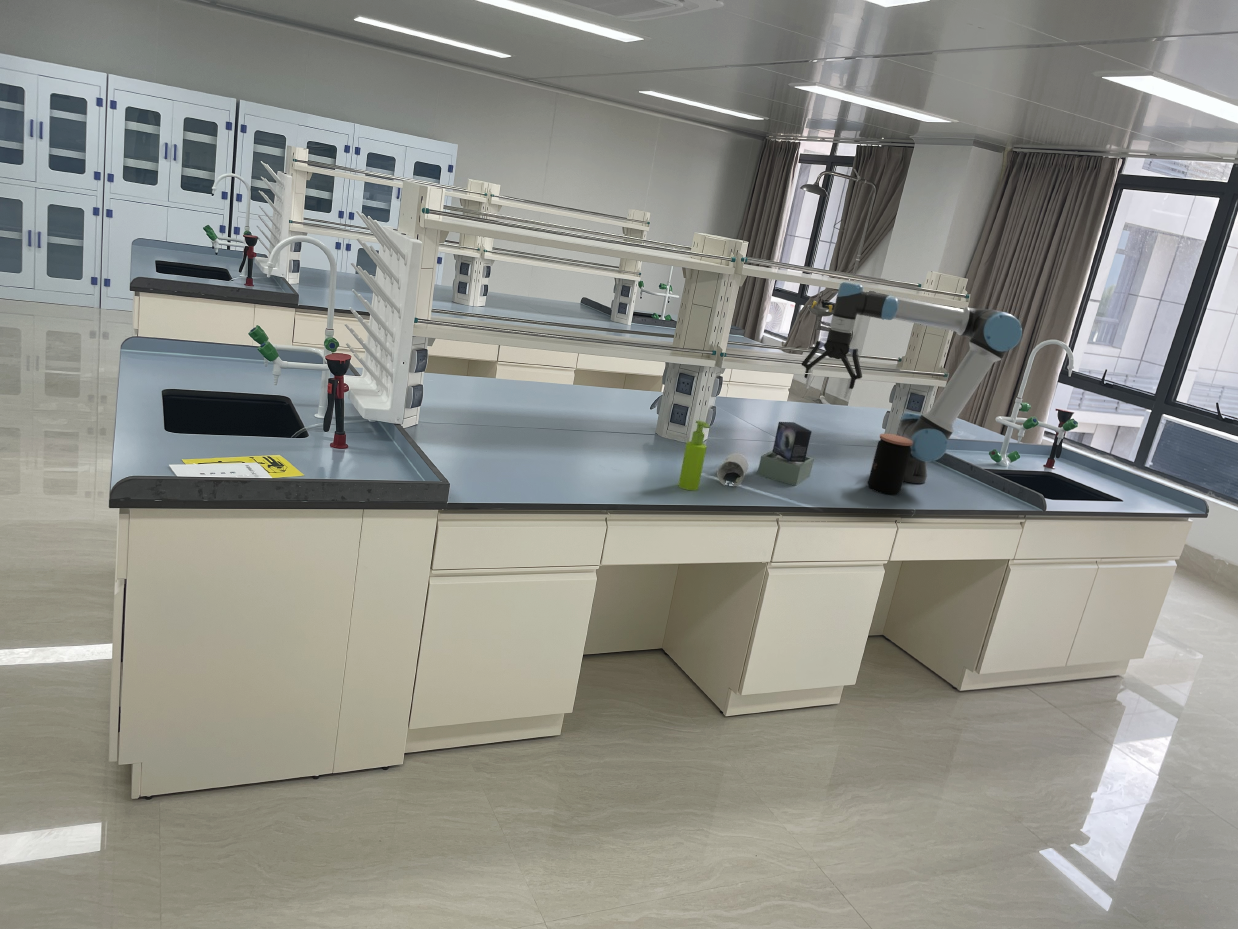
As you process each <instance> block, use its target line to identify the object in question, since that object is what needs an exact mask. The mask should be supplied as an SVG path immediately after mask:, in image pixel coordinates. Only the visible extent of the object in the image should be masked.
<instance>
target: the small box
mask: <svg viewBox="0 0 1238 929" xmlns="http://www.w3.org/2000/svg"><path fill="white" fill-rule="evenodd" d="M811 436H812V430H810V429H808V428H806V427H804V426H802V425H800V424H798V423H796V422H794V421H792V422H791V421H778V423H777V428H776V433H775V438H774V443H773V447H772V450H773V451H772V450H771V451H772V452H774V453H776V454H777V455H779V456H781V457H783V458H784V459H786V460H788V461H789V462H805V459H806V456H807V454H808V450H809V444H810V439H811Z"/></svg>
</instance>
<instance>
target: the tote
mask: <svg viewBox="0 0 1238 929" xmlns="http://www.w3.org/2000/svg"><path fill="white" fill-rule="evenodd" d="M772 451H773V449H772V450H770V451H768V452H766V453H765V454H761V456H760V460H759V464H758V470H757V474H756V475H757V476H760V477H763V478H766V479H771V480H775V481H778V482H781V483H785V484H788V485H792V486H795V487H797V486H798V485H799V484H801V483H803V482H804V481H806V480H807V479H809V478H810V476H811V473H812V469H813V465H814V462H815V458H814V457H810V456H807V455H806V459H805V462H803V463H802V464H800V465H794V464H791V463H787V462H784V461H780V460H776V459H773V457H775V456H777V454H776V453H774V452H772Z"/></svg>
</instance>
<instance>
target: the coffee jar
mask: <svg viewBox="0 0 1238 929" xmlns="http://www.w3.org/2000/svg"><path fill="white" fill-rule="evenodd" d="M879 439H880V440H878V442H877V445H876V449H875V454H874V457H873V460H872V465H871V469H870V474H869V476H868V480H867V485H868V489H870V490H871V489H872V490H871V491H874V492H876V493H879V494H883V495H888V496H896V495H898V494H899V493H900V492H902V491H901V490H902V486H903V482H904V481H903V479H904V476H905V472H906V468H907V464H908V461H909V457H910V453H911V445H913V441H912V440H910V439H908V438H905V437H901V436H898V435H897V434H894V433H893V434H892V433H891V434H890V433H880V434H879Z"/></svg>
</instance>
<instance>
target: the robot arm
mask: <svg viewBox="0 0 1238 929" xmlns="http://www.w3.org/2000/svg"><path fill="white" fill-rule="evenodd" d="M837 291H838V292H837V294H836V297H835V298H836V299H835V302H834V308H833V313H832V316H831V321H830V325H829V327H830V329H829V330H828V332H827V338H826V340H825V341H826V342H823V341H822V340H817V341H816V342H815V345H814V347H813V348H812V350H810V352H809V353H808V355H806V357H805V359H803V361H802V362H801V366H803V367H804V368H805V371H804V372H805V373H812V374H805V373H804V379H805V380H806V381H805V385H804V389H806V390H808V389H810V385H811V381H812V376H813V371H814V369H813V367H814V366H816V365H817V364H818V363H820V362H821V361H823V359H825V358H826V357H828V358H831V359H835V360H841V361H842V363H843V364H844V367H845V369H846V370H847V373H848V375H849V377H850V378H848V379H847V383H846V384H847V385H846V388H845V391H844V392H845V393H844V396H843V398H844V399H848V398H849V395H850V391H851V390H853V389H854V388H855V384H856V380H860V379H862V378H863V373H862V369H861V365H860V361H859V356H858V355H859V349H858V348H850V344H851V339H852V336H853V334H852V332H853V331H854V327H855V325H856V324H855V323H856V318H857V315H858V316H865V317H868V318H874V319H881V320H883V321H884V320H887V321H891V320H897V321H902V322H908V323H910V324H917V325H922V326H927V327H932V328H937V329H941V330H945V331H951V332H956V334H957V335H958V336H962V337H966V338H968V339H969V341H968V346H969V349H968V351H967V352H966V355H965V356H964V357H963V359H962V361H961V362H960V363H959V365H958V367H957V368H956V370H955V371H954V373H953V375H952V376H951V378H949V381H948V382H947V383H946V385H945V387H944V388H943V390H942V391H941V393H940V394H939V396H938V397H937V399H936V400H935V402H934V404H933V405H932V406H931V408H930V409H929V411H928V412H924V413H922V414H919V413H914V412H907V411H906V412H904V413H903V414H902V415H901V419H900V421H899V426H898V430H897V434H896V435H898V436H901V437H905V438H908V439H910V440H912V441H913V445H911V453H910V457H909V461H908V464H907V468H906V472H905V476H904V479H903V482H906V483H911V484H925V483H926V481H927V479H928V478H927V477H928V473H927V472H928V470H927V463H929V462H934V461H935V462H936V461H937V460H939V459H940V458H942V457H943V456H944V455H945V453H946V452H947V450H948V441H949V439H950V438H951V436H952V434H953V433H954V429H953V425H954V423H955V421H956V420H957V419H958V417H959V415H960V414H961V412H962V411H963V409H964V408H965V407H966V405H967V403H968V402H969V400H970V399H971V397H972V396H973V394H974V393H975V392H976V390H977V388H978V387H979V385H980V384H981V382H982V380H984V378H985V376H986V374H987V373H988V372H989V371H990V368H991V367H992V366H993V364H994V363H996V362H998V361H1001V360H1002V359H1003V358H1004V357H1005V355H1006V353H1008V352H1009V351H1010V350H1012V349H1014V348H1015V347H1016V346H1017V345H1018V344H1019V343H1020V341H1021V339H1022V336H1023V329H1022V324H1021V322H1020V320H1018V318H1017V317H1016V316H1014V315H1013V314H1010V313H1009V312H1005V311H1004V312H1003V311H1001V310H997V309H989V308H987V309H986V308H973V307H968V306H966V307H964V308H958V307H952V306H946V305H942V304H937V303H932V302H927V301H922V300H917V299H911V298H907V297H901V296H896V295H890V294H885V293H882V292H876V291H874V290H869V292H867V291H864V286H863V285H861V284H857V283H851V282H841V283H840V285H839V288H838V290H837ZM894 296H896V297H894ZM822 348H824V352H823V353H821V354H820V355H819V356H817V357H816V358H815V359H814V360H812V359H813V358H814V356H815V355H816V354H817V352H818V351H819V350H820V349H822ZM848 353H850V356H852V357H851V358H852V362H853V366H854V369H855V371H854V369H853V367H852V365H851V364H850V361H849V358H848V357H847V354H848ZM811 360H812V361H811ZM810 361H811V362H810ZM809 362H810V363H809Z"/></svg>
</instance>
